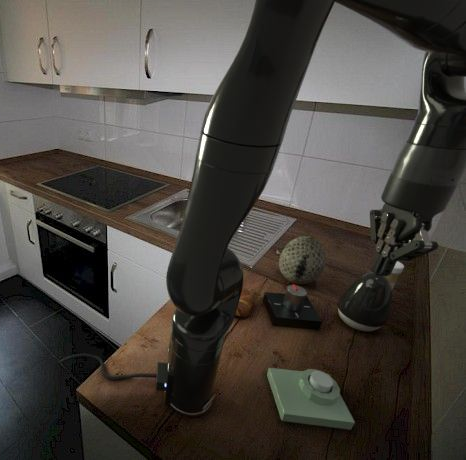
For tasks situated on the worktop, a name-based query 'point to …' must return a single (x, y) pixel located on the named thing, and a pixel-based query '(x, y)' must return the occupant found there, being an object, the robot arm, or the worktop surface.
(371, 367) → the worktop surface
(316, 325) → the lock panel
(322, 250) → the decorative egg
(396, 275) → the sprinkles bottle
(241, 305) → the croissant
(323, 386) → the push button
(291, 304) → the lock dial
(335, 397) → the push button base
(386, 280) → the black rounded dome
